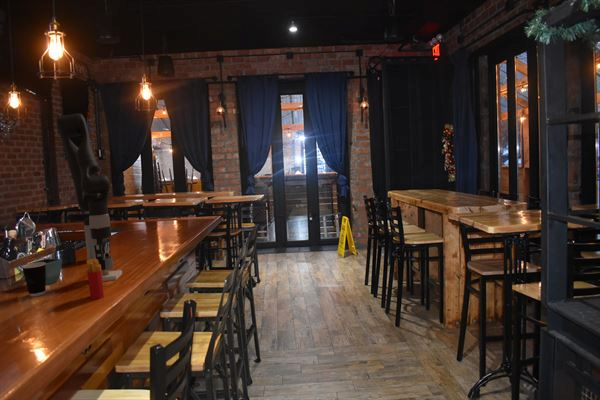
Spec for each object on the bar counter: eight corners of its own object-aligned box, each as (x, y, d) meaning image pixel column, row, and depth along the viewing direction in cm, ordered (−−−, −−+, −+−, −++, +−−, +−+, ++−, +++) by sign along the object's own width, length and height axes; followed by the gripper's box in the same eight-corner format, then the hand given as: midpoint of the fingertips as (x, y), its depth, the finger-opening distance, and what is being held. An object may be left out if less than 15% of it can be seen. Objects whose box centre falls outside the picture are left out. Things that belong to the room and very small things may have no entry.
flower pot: (64, 280, 196) (62, 258, 195) (47, 286, 188) (44, 263, 187) (47, 280, 199) (45, 258, 198) (29, 286, 191) (26, 263, 190)
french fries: (103, 299, 165) (99, 261, 163) (89, 301, 163) (85, 262, 162) (104, 292, 173) (100, 256, 172) (91, 294, 172) (87, 257, 171)
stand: (96, 276, 200) (94, 258, 199) (122, 273, 201) (120, 255, 200) (89, 282, 190) (87, 263, 189) (116, 279, 191) (114, 260, 190)
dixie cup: (51, 290, 182) (47, 261, 181) (48, 295, 175) (44, 265, 174) (27, 293, 180) (23, 264, 178) (23, 299, 172) (19, 268, 171)
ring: (99, 268, 198) (98, 257, 197) (114, 266, 198) (113, 255, 198) (95, 271, 192) (93, 260, 191) (111, 270, 193) (109, 258, 192)
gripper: (95, 224, 200) (100, 264, 202) (84, 229, 186) (89, 272, 187) (114, 222, 201) (118, 262, 203) (105, 227, 187) (110, 270, 188)
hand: (104, 267), depth 195 cm, fingers closed on ring, 6 cm apart
